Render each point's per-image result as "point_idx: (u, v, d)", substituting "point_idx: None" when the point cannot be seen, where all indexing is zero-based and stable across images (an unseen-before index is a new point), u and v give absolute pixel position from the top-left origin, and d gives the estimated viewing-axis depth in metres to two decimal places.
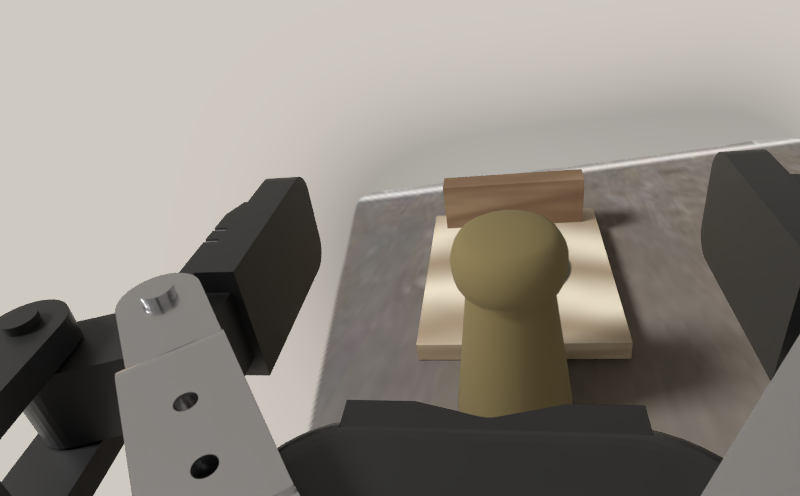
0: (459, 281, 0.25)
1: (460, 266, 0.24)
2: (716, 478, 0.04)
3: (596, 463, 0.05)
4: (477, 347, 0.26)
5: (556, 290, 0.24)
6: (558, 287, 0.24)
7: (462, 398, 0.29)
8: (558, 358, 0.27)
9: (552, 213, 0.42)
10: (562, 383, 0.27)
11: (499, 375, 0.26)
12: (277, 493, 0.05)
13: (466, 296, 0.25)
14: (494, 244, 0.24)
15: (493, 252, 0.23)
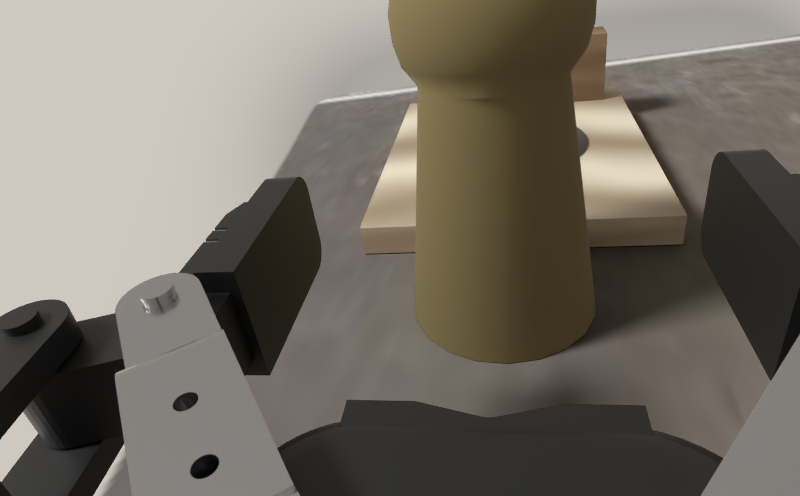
0: (399, 37, 0.14)
1: (400, 1, 0.13)
2: (716, 478, 0.04)
3: (596, 463, 0.05)
4: (436, 177, 0.15)
5: (574, 43, 0.13)
6: (578, 38, 0.13)
7: (418, 286, 0.18)
8: (574, 201, 0.16)
9: None
10: (579, 250, 0.16)
11: (473, 222, 0.15)
12: (275, 494, 0.05)
13: (412, 66, 0.14)
14: None
15: None
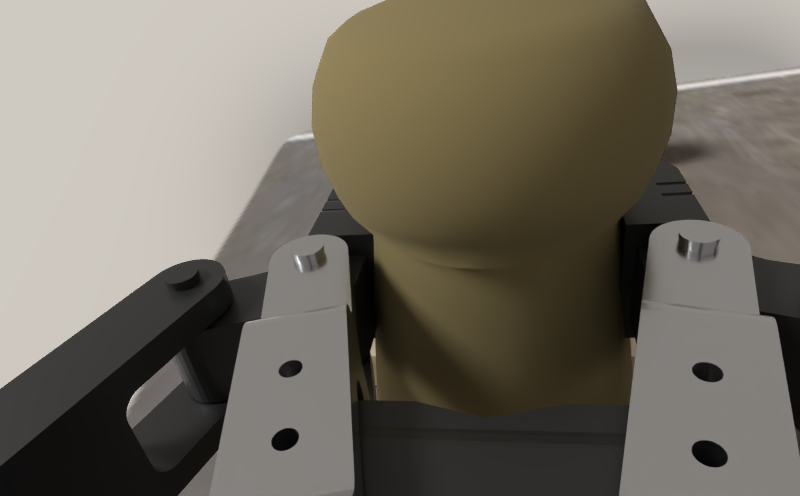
0: (327, 161, 0.08)
1: (323, 102, 0.07)
2: (716, 478, 0.04)
3: (596, 463, 0.05)
4: (399, 366, 0.09)
5: (639, 181, 0.07)
6: (646, 172, 0.07)
7: None
8: (623, 399, 0.10)
9: None
10: None
11: None
12: (336, 493, 0.04)
13: (351, 209, 0.08)
14: (430, 15, 0.07)
15: (420, 33, 0.07)
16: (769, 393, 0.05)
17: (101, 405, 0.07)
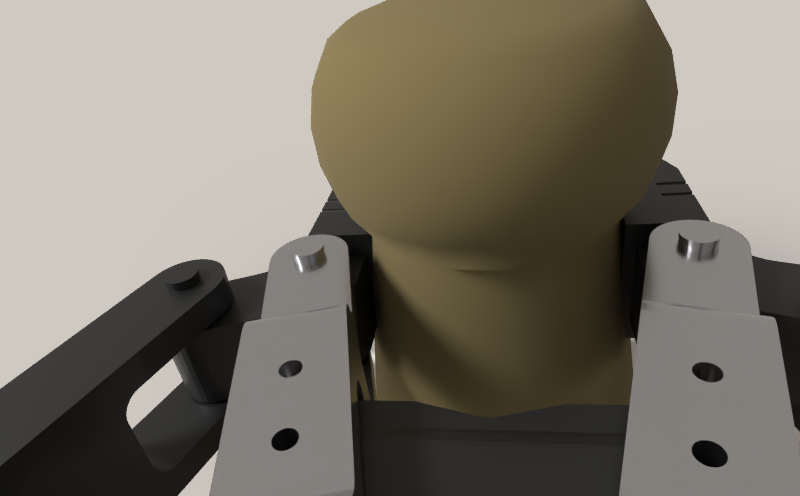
0: (325, 162, 0.08)
1: (322, 104, 0.07)
2: (716, 478, 0.04)
3: (596, 463, 0.05)
4: (399, 367, 0.09)
5: (640, 183, 0.07)
6: (646, 173, 0.07)
7: None
8: (623, 401, 0.10)
9: None
10: None
11: None
12: (335, 492, 0.04)
13: (351, 211, 0.08)
14: (429, 16, 0.07)
15: (420, 34, 0.07)
16: (769, 393, 0.05)
17: (101, 405, 0.07)
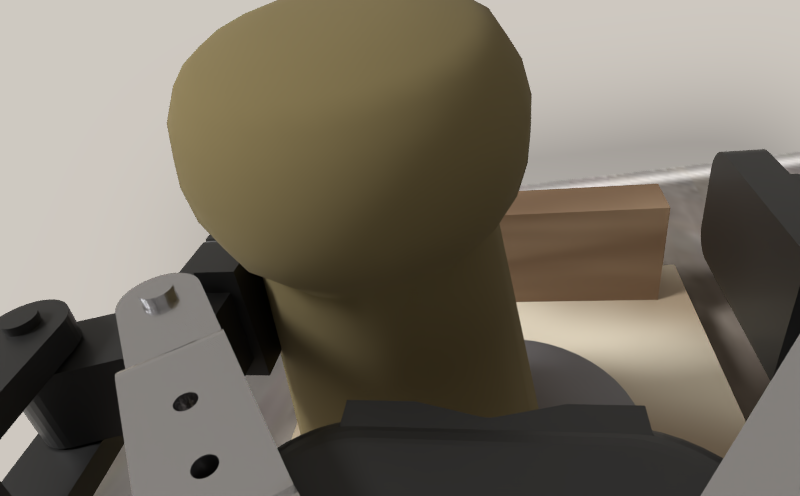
0: (188, 198, 0.08)
1: (173, 148, 0.07)
2: (716, 478, 0.04)
3: (596, 463, 0.05)
4: (293, 368, 0.10)
5: (488, 220, 0.07)
6: (492, 211, 0.07)
7: None
8: (506, 387, 0.10)
9: (591, 280, 0.19)
10: None
11: None
12: (275, 494, 0.05)
13: (219, 243, 0.08)
14: (263, 65, 0.07)
15: (250, 92, 0.06)
16: None
17: None
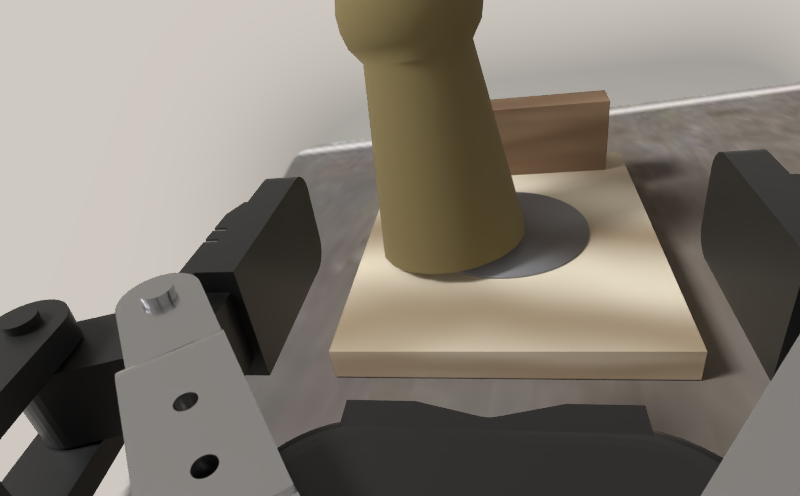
0: (342, 25, 0.19)
1: None
2: (716, 478, 0.04)
3: (596, 463, 0.05)
4: (382, 129, 0.20)
5: (466, 15, 0.18)
6: (467, 11, 0.18)
7: (382, 226, 0.23)
8: (489, 138, 0.21)
9: (560, 157, 0.28)
10: (499, 177, 0.21)
11: (413, 158, 0.20)
12: (275, 494, 0.05)
13: (354, 45, 0.19)
14: None
15: None
16: None
17: None
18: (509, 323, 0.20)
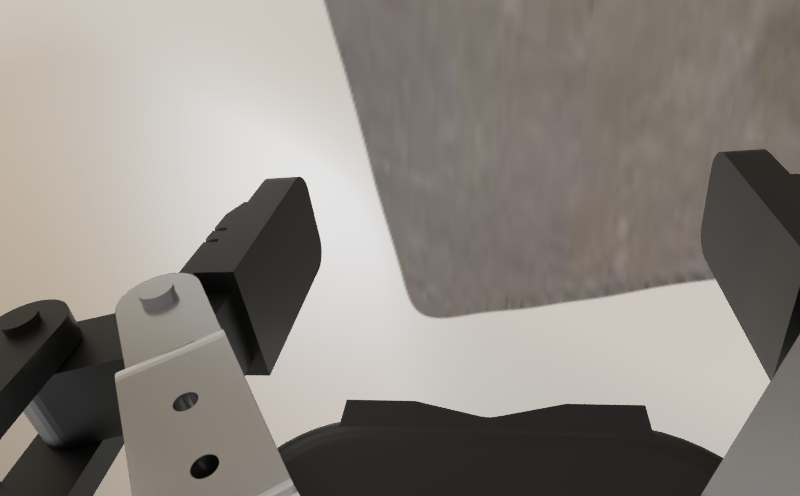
0: None
1: None
2: (716, 478, 0.04)
3: (596, 463, 0.05)
4: None
5: None
6: None
7: None
8: None
9: None
10: None
11: None
12: (275, 495, 0.05)
13: None
14: None
15: None
16: None
17: None
18: None
